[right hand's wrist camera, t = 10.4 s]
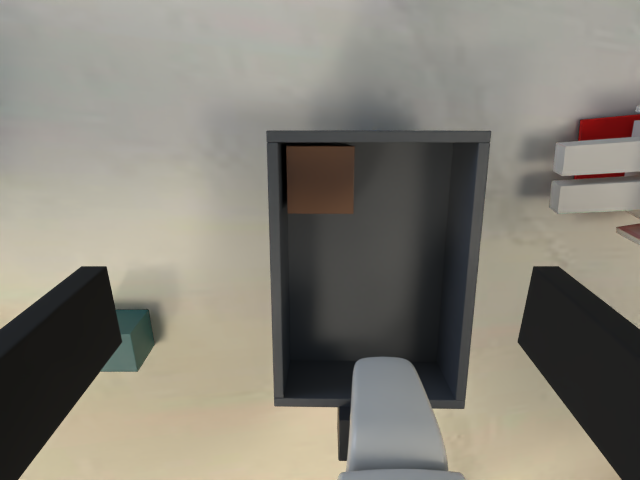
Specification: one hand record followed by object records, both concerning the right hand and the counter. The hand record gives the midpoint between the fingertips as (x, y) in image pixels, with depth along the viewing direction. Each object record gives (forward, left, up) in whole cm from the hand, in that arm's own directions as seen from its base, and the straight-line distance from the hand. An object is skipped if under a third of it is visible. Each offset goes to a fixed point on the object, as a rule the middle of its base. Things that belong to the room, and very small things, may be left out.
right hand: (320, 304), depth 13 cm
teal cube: (-31, +1, -31) cm, 44 cm away
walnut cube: (-1, -1, -23) cm, 23 cm away
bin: (-4, -10, -23) cm, 25 cm away
